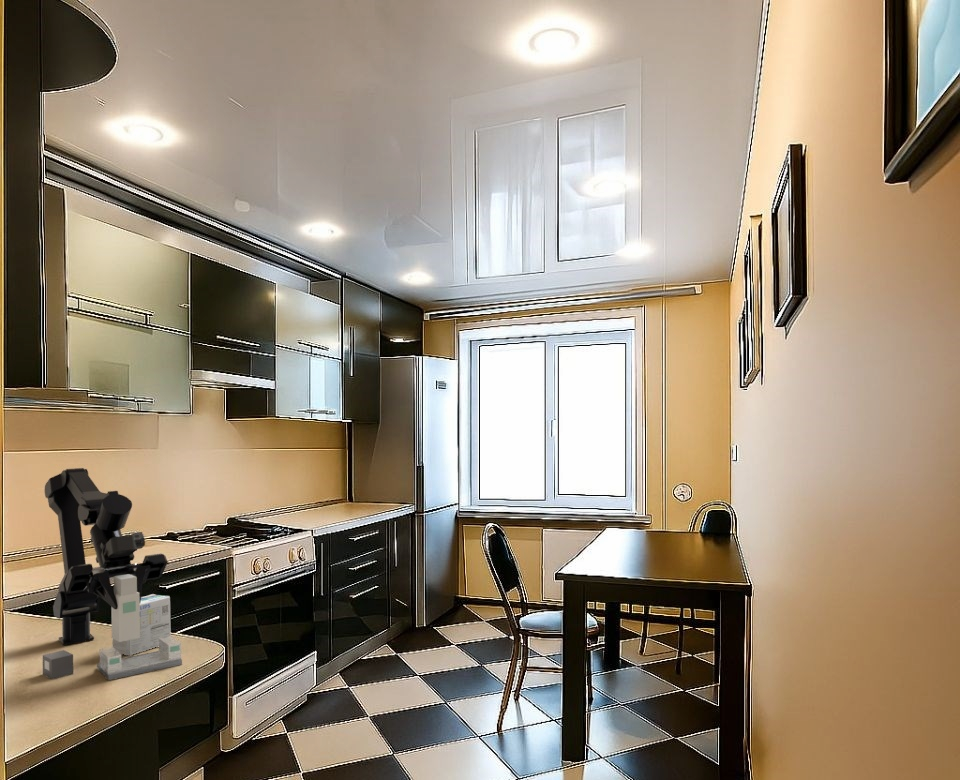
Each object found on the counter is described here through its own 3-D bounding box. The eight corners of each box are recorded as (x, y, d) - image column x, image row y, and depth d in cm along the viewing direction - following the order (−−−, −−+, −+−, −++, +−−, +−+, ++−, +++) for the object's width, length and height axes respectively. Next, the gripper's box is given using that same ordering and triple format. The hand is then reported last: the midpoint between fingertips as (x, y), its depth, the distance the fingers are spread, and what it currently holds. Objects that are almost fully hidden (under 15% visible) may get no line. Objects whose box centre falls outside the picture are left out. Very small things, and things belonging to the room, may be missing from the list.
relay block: (42, 675, 151) (42, 655, 152) (64, 669, 154) (63, 650, 155) (51, 680, 148) (51, 659, 148) (73, 674, 151) (73, 654, 151)
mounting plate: (97, 668, 154) (96, 646, 154) (167, 653, 163) (167, 633, 163) (108, 680, 146) (108, 658, 146) (182, 664, 155) (181, 643, 155)
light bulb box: (153, 639, 174) (153, 593, 175) (172, 643, 171) (171, 595, 171) (110, 652, 165) (110, 603, 165) (129, 656, 162) (128, 606, 162)
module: (111, 637, 152) (111, 576, 152) (132, 633, 155) (131, 573, 155) (119, 642, 149) (118, 579, 149) (140, 637, 151) (139, 576, 152)
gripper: (68, 526, 149) (86, 590, 141) (163, 515, 162) (184, 573, 154) (58, 561, 155) (74, 624, 146) (150, 548, 167) (170, 606, 159)
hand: (127, 605), depth 151 cm, fingers closed on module, 4 cm apart
